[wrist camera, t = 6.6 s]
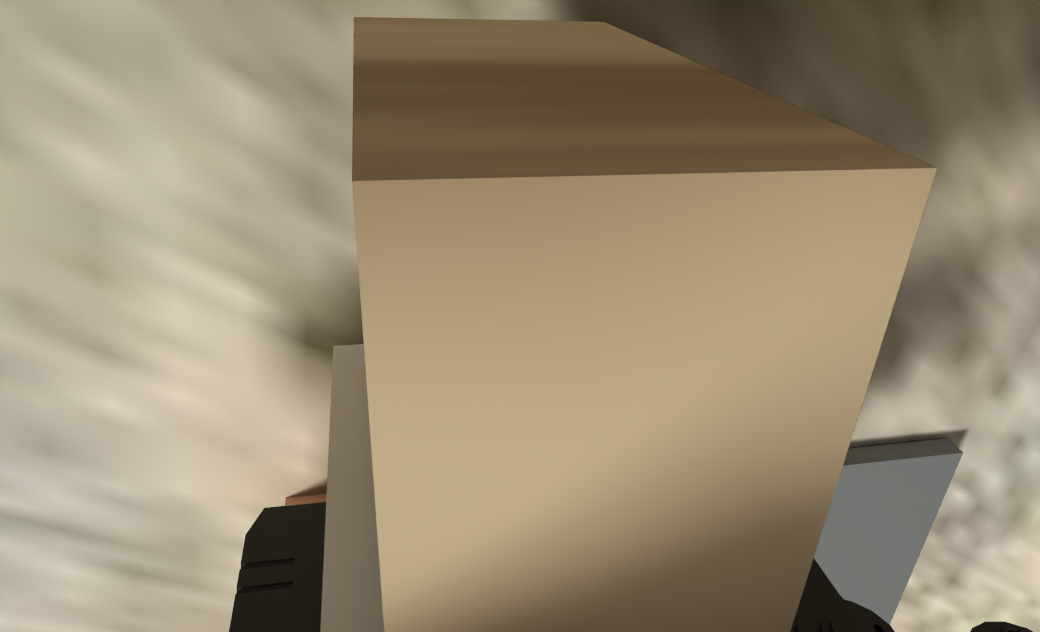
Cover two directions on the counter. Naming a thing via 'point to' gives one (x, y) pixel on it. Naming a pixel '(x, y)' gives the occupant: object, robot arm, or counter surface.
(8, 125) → the counter surface
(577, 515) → the tan rectangular block
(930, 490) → the slate mat
